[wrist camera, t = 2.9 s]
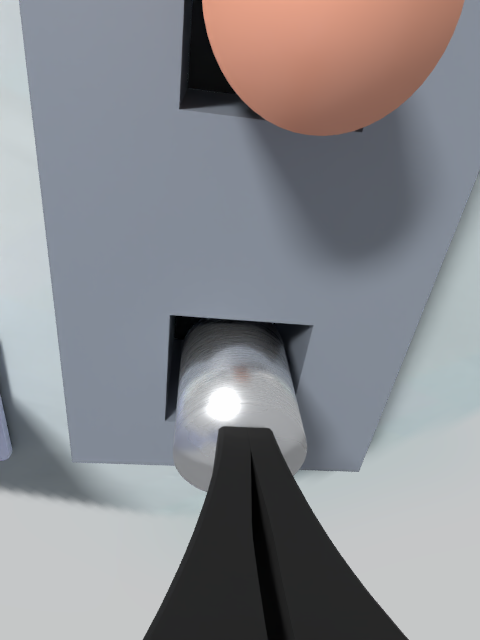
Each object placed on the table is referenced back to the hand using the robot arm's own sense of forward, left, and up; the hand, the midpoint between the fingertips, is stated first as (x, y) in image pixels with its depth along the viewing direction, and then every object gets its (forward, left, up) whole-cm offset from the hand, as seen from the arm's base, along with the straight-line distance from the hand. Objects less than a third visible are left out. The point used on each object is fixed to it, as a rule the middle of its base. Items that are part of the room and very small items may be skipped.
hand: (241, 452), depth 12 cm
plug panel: (0, +5, -8) cm, 10 cm away
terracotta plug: (0, +10, -4) cm, 11 cm away
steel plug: (0, 0, -4) cm, 4 cm away
